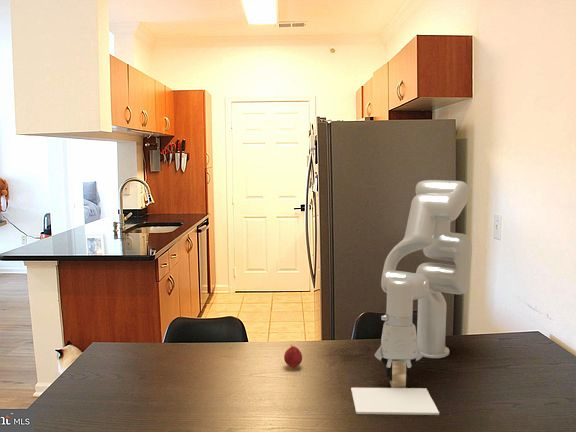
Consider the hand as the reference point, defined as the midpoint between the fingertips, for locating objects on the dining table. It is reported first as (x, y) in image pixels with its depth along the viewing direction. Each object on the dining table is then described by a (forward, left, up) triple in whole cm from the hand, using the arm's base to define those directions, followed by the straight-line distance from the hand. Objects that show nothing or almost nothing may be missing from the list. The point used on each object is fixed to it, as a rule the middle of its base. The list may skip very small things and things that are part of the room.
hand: (397, 378), depth 150 cm
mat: (+5, -9, -2) cm, 11 cm away
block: (0, 0, -2) cm, 2 cm away
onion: (-30, -15, -3) cm, 34 cm away
